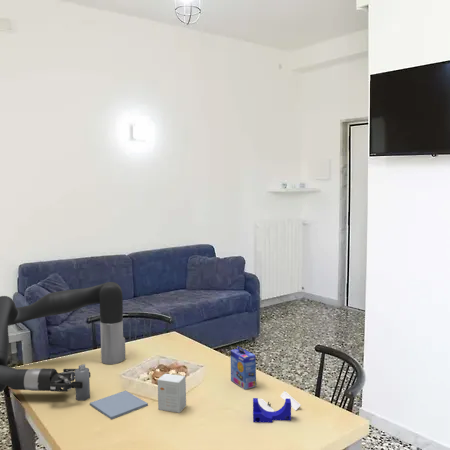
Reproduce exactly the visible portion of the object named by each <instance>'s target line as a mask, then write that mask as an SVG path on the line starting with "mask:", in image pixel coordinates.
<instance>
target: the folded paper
mask: <svg viewBox="0 0 450 450" xmlns="http://www.w3.org/2000/svg"><path fill="white" fill-rule="evenodd" d="M279 397H280V398H282V399H283V401H285V400H286V399H290V400H291V409H293V410H294V411H297V410H298V409H299V408H300V407H301V406H302V404H300V402H299V401H297V400H296V399H295V398H294V397H293V396H291V394H289V393H288V392H287V391H285V390H284V391H283V392H282V393H281V394H280V395H279ZM258 403H259V405H260V406H261V407H262V408H263V409H264V410H266V411H269V412H274V411H275V409H273V407H272V406H271V405H272V404H271V403H270V401H268V402H266V401H265V399H263V398H258Z"/></svg>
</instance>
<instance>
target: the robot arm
mask: <svg viewBox="0 0 450 450" xmlns="http://www.w3.org/2000/svg"><path fill="white" fill-rule="evenodd" d="M123 301H124V300H123V289H122V287H121V286H120V285H119V284H118V283H117V282H114V281H108V282H104V283H100V284H97V285H93V286H90V287H84V288H76V289H67V290H60V291H55V292H54V291H53V292H50V293H48V294H45V295H44V296H41V298H39V299H38V300H36V301H35V302H33V303H31V304H29V305H24V306H18V307H17V306H16V304H15V301H14V300H13V299H12V298H11V297H10V296H7V295H1V296H0V393H1V392H3V391H4V390H6V387H9V388H10V389H12V390H17V391H31V392H32V391H33V392H36V391H37V392H45V391H46V392H55V393H56V392H58V393H59V392H61V393H66V392H68V391H69V390H72V389H75V388H83V382H82V381H75V370H76V369H77V368H63V369H62V372H58V371H57V369H56V368H53V367H52V368H50V367H49V368H45V367H42V368H39V367H38V368H16V367H15V368H14V367H10V366H8V358H9V351H10V350H9V349H10V338H9V336H10V335H9V327H10V326H13V325H17V324H20V323H25V322H27V321H31V320H36V319H41V318H46V317H49V316H51V317H52V316H57V315H61V314H68V313H71V312H74V311H76V310H79V309H82V308H83V307H86V306H90V305H95V304H99V318H100V319H99V321H100V322H99V323H100V324H99V325H100V353H101V354H100V359H101V360H100V361H101V363H102V364H105V365H115V364H120V363H121V362H123V361H124V360H126V338H125V337H124V322H123V321H124V320H123V319H124V318H123V317H124V310H123V308H124V307H123V304H124V302H123ZM90 378H91V371H89V379H90Z"/></svg>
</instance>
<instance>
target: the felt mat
mask: <svg viewBox="0 0 450 450" xmlns="http://www.w3.org/2000/svg"><path fill="white" fill-rule="evenodd" d="M89 406H91V407H92V408H93V409H95V410H97V411H98V412H100V414H103V415H104V416H105V417H106V418H109V419H110V420H115V419H117V418H118V417H119V418H120V417H122V416H124V415H127V414H129V413H132V412H134V411H137V410H139V409H143V408H145V407H148V406H149V403H148V402H146V401H145V400H143V399H141V398H139V397H138V396H136V395H134V394H132V393H131V392H129V391H127V390H122V391H121V392H120V391H119V392H117V393H115V394H111V395H108V396H105V397H103V398H99V399H97V400H94V401H91V402H90V403H89Z"/></svg>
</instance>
